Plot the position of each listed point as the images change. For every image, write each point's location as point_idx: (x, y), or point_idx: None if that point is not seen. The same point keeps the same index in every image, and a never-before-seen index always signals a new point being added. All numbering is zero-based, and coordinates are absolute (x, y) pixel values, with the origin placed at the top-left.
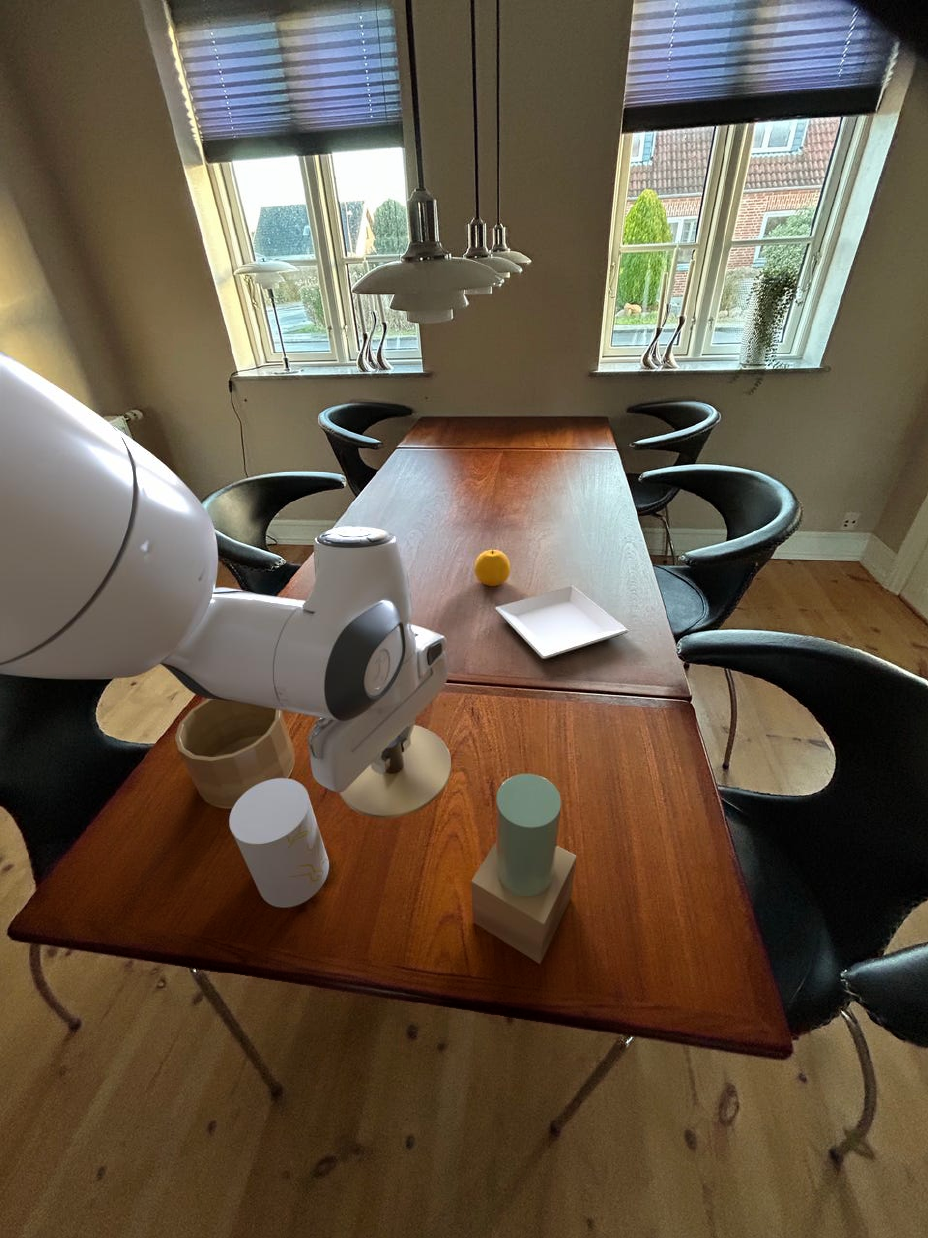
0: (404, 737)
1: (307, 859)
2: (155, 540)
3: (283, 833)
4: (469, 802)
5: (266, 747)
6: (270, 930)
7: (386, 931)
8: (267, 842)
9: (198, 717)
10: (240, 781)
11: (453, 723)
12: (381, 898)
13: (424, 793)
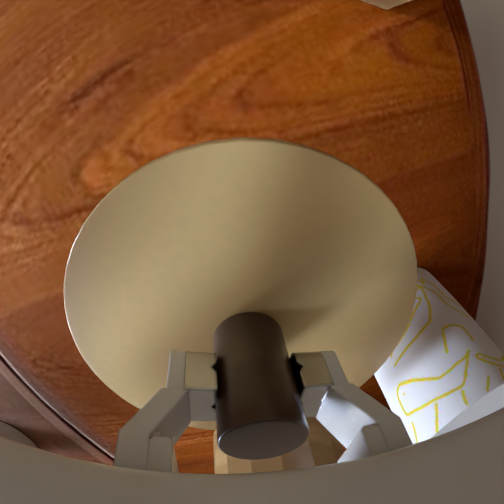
0: (188, 399)
1: (459, 316)
2: None
3: None
4: (143, 112)
5: None
6: (457, 281)
7: (442, 141)
8: None
9: None
10: (332, 446)
11: (7, 261)
12: (406, 173)
13: (315, 191)
